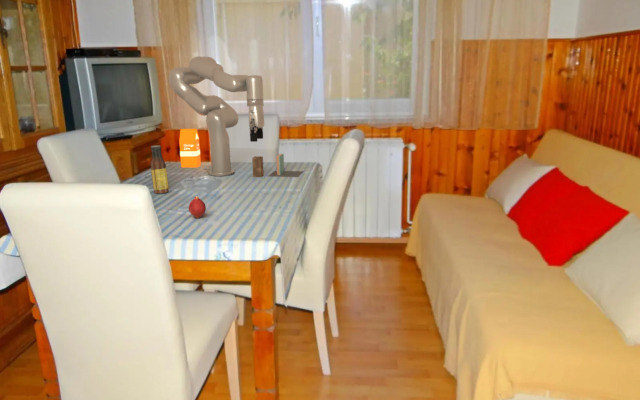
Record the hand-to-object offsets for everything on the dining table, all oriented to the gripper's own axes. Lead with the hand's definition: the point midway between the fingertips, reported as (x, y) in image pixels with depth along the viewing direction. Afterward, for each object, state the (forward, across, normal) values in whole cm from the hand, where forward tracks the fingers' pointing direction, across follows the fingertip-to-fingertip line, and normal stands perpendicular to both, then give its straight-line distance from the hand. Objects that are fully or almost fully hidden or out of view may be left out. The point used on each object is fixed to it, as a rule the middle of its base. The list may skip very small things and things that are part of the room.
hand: (256, 140), depth 243 cm
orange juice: (+18, +26, +45) cm, 55 cm away
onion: (+18, -69, +2) cm, 71 cm away
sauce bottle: (+18, -34, +33) cm, 51 cm away
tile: (+17, +8, -9) cm, 21 cm away
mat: (+18, +7, -12) cm, 23 cm away
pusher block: (+18, 0, 0) cm, 18 cm away
